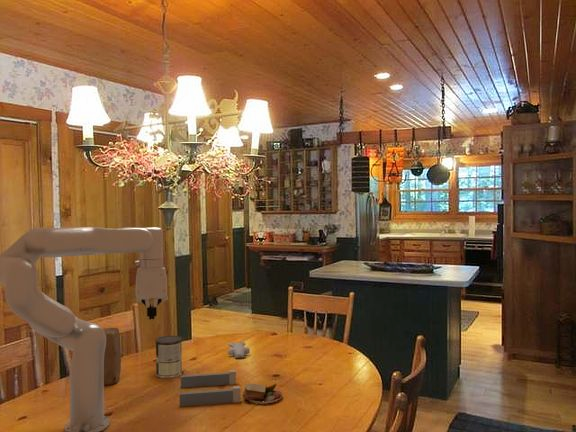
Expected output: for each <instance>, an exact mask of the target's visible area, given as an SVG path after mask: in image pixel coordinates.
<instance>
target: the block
mask: <svg viewBox="0 0 576 432" xmlns="http://www.w3.org/2000/svg"><path fill="white" fill-rule="evenodd" d="M102 329H103V330H104V332H105V334H106V348H105V353H104V386H107V385H113V384H116V383H118V382H119V381H120V377H121V369H122V365H121V363H122V348H121V347H122V346H121V338H120V330H119V328H118V327H108V328H107V327H105V328H102Z"/></svg>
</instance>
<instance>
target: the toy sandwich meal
mask: <svg viewBox="0 0 576 432" xmlns="http://www.w3.org/2000/svg"><path fill="white" fill-rule="evenodd" d="M276 387H277V383H274V384H269V385H262V384H256V383H250V382H249V383H246V384H245V386H244V391H243V392H242V398H243V399H244V400H246V401H248V402H250V403H251V402H253V403H252V404H254V403H257V404H256V405H259V404H267V405H269V404H268V403H273V402H276V401H278V400H279V401H280V400H281V399H282V398H283V392H282V391H279V390H275V389H276ZM263 401H264V402H263ZM279 401H278V402H279ZM276 403H277V402H276ZM273 404H274V403H273Z"/></svg>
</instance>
